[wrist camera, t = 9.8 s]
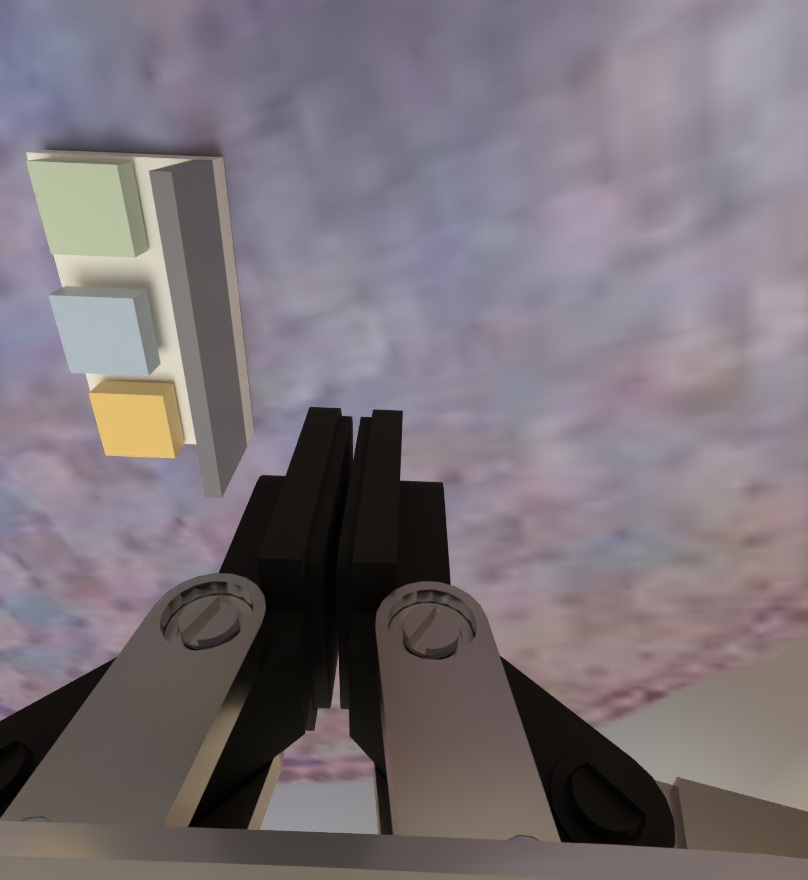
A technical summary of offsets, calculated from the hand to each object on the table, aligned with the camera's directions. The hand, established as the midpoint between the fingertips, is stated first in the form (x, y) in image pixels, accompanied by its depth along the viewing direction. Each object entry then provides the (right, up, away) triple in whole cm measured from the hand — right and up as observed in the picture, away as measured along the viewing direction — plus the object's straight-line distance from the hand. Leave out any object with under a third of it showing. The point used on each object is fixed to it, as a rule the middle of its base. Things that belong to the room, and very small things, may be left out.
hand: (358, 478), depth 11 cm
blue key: (-16, +7, +23) cm, 29 cm away
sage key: (-16, +14, +21) cm, 30 cm away
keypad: (-15, +9, +26) cm, 32 cm away
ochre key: (-17, +2, +28) cm, 32 cm away
